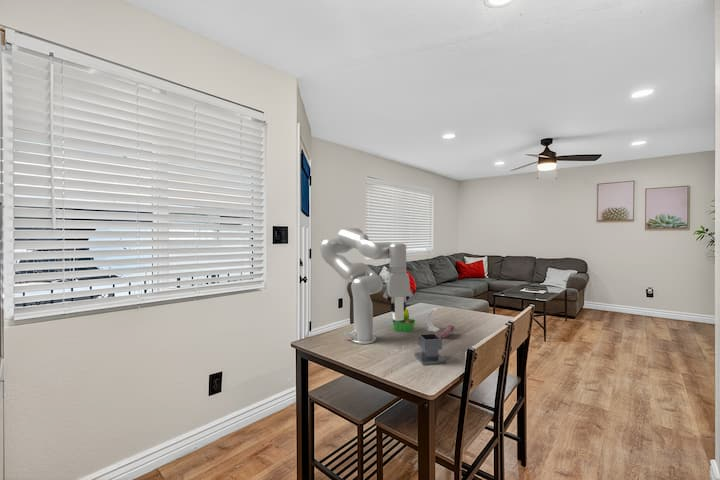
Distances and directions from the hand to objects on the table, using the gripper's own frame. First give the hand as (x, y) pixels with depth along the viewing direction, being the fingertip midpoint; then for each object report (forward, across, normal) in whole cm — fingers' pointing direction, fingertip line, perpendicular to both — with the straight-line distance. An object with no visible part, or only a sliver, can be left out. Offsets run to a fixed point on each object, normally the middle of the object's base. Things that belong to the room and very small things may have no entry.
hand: (398, 310), depth 141 cm
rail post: (+4, 0, 0) cm, 4 cm away
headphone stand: (+18, +27, +25) cm, 41 cm away
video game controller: (+18, +30, +14) cm, 38 cm away
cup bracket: (+18, +10, -12) cm, 24 cm away
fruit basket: (+18, +12, +29) cm, 36 cm away
